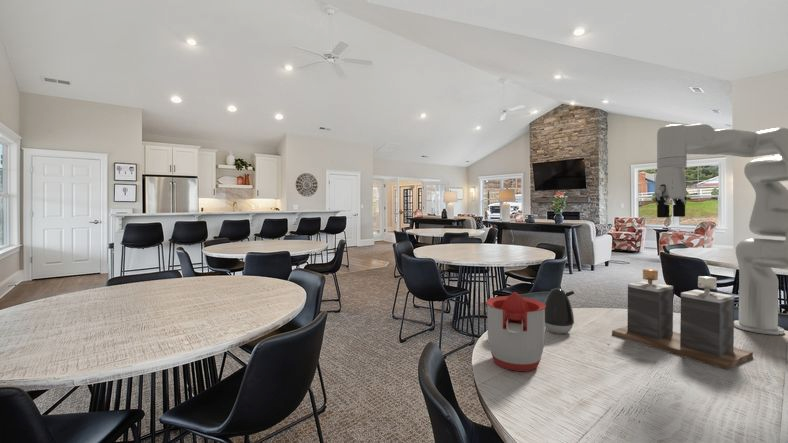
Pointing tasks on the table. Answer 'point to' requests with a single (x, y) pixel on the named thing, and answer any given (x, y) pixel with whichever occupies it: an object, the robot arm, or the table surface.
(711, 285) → the ivory plunger
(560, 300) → the pump dispenser
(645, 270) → the copper plunger
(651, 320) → the press station
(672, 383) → the table surface
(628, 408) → the table surface
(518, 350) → the citrus juicer
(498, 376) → the table surface
